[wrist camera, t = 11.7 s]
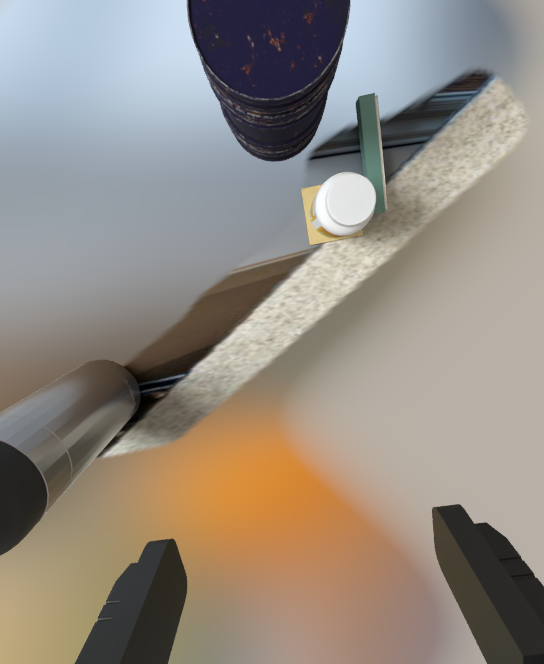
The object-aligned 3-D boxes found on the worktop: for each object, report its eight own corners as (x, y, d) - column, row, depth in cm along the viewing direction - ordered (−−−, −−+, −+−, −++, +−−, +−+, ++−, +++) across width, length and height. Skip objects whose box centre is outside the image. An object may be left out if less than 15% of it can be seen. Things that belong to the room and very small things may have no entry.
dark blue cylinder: (262, 182, 35) (247, 137, 21) (208, 97, 33) (150, -18, 19) (340, 123, 33) (384, 29, 19) (288, 30, 32) (293, -153, 17)
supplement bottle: (367, 220, 36) (397, 210, 26) (324, 247, 36) (339, 247, 27) (343, 175, 34) (366, 148, 25) (300, 204, 35) (306, 188, 26)
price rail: (367, 215, 36) (371, 213, 34) (355, 103, 33) (359, 96, 31) (384, 211, 35) (388, 210, 34) (373, 99, 33) (377, 92, 31)
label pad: (309, 245, 37) (309, 245, 36) (301, 189, 35) (301, 188, 35) (362, 235, 36) (363, 235, 36) (356, 177, 35) (356, 177, 34)
